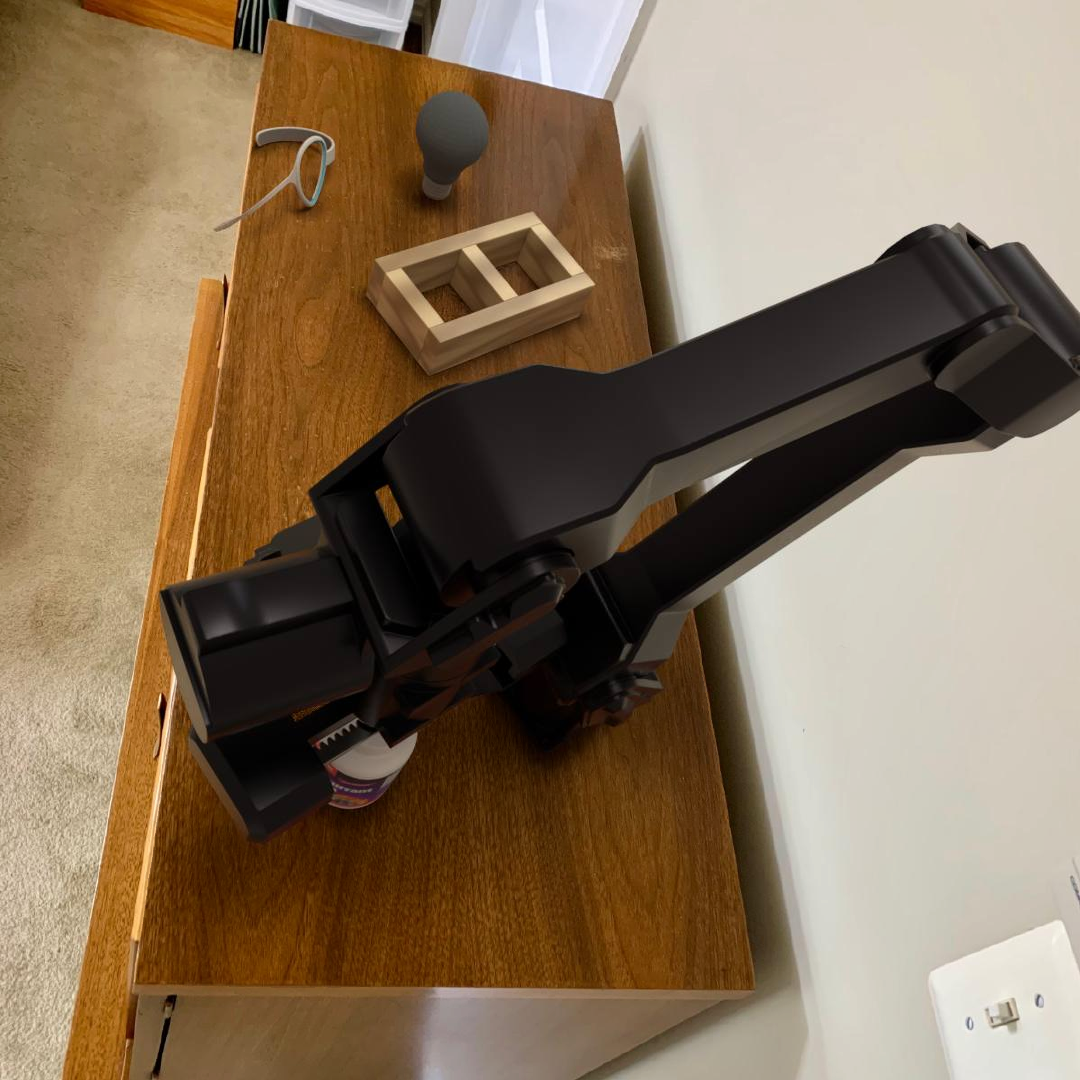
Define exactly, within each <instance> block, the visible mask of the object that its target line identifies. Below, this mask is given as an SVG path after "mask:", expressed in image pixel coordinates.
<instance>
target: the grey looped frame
mask: <svg viewBox="0 0 1080 1080" xmlns="http://www.w3.org/2000/svg"><path fill="white" fill-rule="evenodd" d="M286 141H287V142H289V141H290V142H292V141H293V142H302V144H301V145H300V147H299V148H298V150H297V152H296V156H295V158H294V163H293V164H294V165H293V167H292V170H291V172H290V174H289V175H288V176H287V177H286V178H285V179H284V180H282V181H281V182H280V183H279V184H278V185H277V186H276V187H275V188H273V189H272V190H271V191H270V192H269V193H268V194H267V195H265V196H263V198H262V199H260V201H258V202H257V203H255V204H254V205H253V206H252V207H251V208H250V209H248V210H247V211H246V212H244V213H242V214H240V215H238V216H237V217H233V218H230V219H228V220H225V221H223V222H222V223H220V224H218V225H217V226H216V227H214V228H213V229H212V230H213V231H215V233H219V232H221V231H224V230H226V229H228V228H230V227H232V226H234V225H235V224H237V223H238V222H240V221H241V220H243V219H245V218H247V217H249V216H250V215H252V214H253V213H255V211H257V210H258V209H259V208H261V207H262V206H264V205H265V204H266V203H267V202H268V201H269V200H271V199H272V198H273V197H274V196H275V195H277V194H278V193H279V192H280V191H282V189H283V188H284V187H285V186H287V185H288V184H293V185H294V186H295V190H296V194H297V196H298V198H299V200H300V202H301V203H302V204H303V205H304V206H305V207H308V208H313V207H314V206H315V205H316V203H317V201H318V199H319V196H320V193H321V191H322V188H323V185H324V180H325V175H326V169H327V167H328V166H329V165H331V164H332V163H333V162H334V161H335V159H336V148H335V147H336V146H335V141H334V140H333V138H332V137H330V136H329V135H328V134H326V133H324V132H321V131H319V130H315V129H311V128H307V127H299V126H277V127H269V128H266V129H265V128H264V129H262V130H259V131H257V132H256V134H255V142H256V144H257V146H258V147H261V146H263V145H267V144H269V143H271V144H272V143H276V142H286ZM311 144H312V145H317V146H320V149H321V162H320V170H319V175H318V179H317V184H316V187H315V190H314V192H313V195H312V197H311V198H310V199H311V200H309V199H307V198H306V196H305V194H304V191H303V188H302V183H301V162H302V158H303V155H304V154H305V152H306V150H307V148H308V147H309V146H310V145H311Z"/></svg>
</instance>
